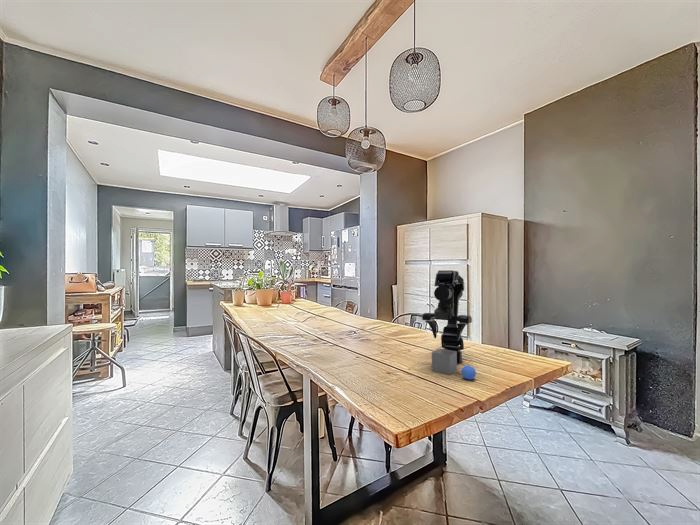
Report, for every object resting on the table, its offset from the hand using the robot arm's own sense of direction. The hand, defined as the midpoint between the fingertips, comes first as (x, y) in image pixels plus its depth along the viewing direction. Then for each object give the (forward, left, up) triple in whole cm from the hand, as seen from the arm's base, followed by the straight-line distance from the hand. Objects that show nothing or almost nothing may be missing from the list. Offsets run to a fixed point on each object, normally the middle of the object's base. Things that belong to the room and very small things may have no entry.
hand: (446, 339), depth 123 cm
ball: (+10, -4, -10) cm, 15 cm away
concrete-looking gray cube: (-1, 0, -13) cm, 13 cm away
